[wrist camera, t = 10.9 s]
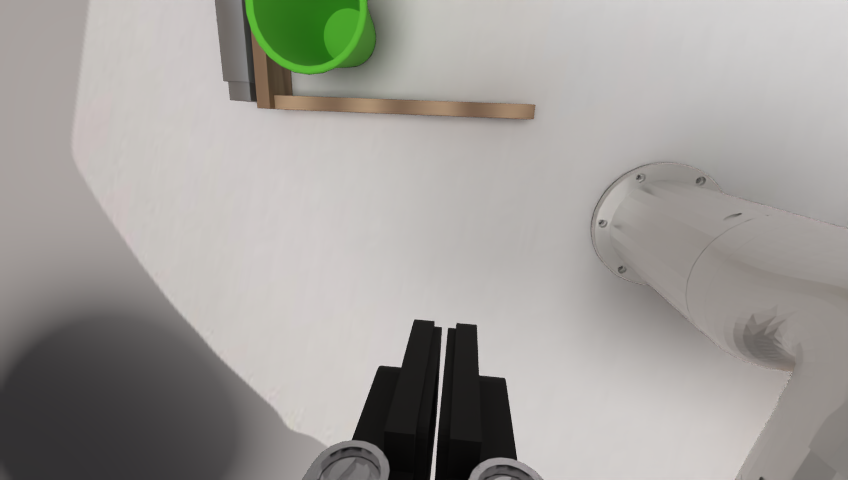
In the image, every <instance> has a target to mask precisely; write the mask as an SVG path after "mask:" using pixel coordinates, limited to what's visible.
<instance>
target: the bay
mask: <svg viewBox="0 0 848 480" xmlns="http://www.w3.org/2000/svg"><path fill="white" fill-rule="evenodd" d="M215 6H216V15H217V25H218V34H219V43H220V53H221V62H222V71H223V81H227V82H228V84H229V94H230V100H235V101H247V102H257V108H267V109H284V110H310V111H335V112H360V113H386V114H411V115H436V116H461V117H487V118H512V119H534V112H535V105H531V104H503V103H475V102H448V101H420V100H392V99H365V98H337V97H309V96H292V82H291V71H290V70H288V69H286V68H284V67H281V66H280V65H279V64H277V63H276V62H275V61H274V60H272V59H271V58H270V57H269V56H268V55H267V54H266V53H265V52H264V50H263V49H262V48H261V47H260V46H259V44H258V42H257V40H256V38H255V36H254V34H253V33H252V31H251V27H250V24H249V21H248V17H247V14H246V4H245V0H215Z"/></svg>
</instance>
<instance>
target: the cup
mask: <svg viewBox="0 0 848 480" xmlns="http://www.w3.org/2000/svg"><path fill="white" fill-rule="evenodd" d="M245 4H246V14H247V17H248V21H249V24H250V27H251V31H252V33H253V34H254V36H255V38H256V40H257V42H258V44H259V46H260V47H261V48H262V49H263V50H264V52H265V53H266V54H267V55H268V56H269V57H270V58H271V59H272V60H274V61H275V62H276V63H277V64H279V65H280V66H281V67H284V68H286V69H288V70H290V71H293V72H295V73H302V74H308V75H310V74H319V73H324V72H327V71H329V70H332V69H334V68H345V67H355V66H358V65H361V64H362V63H364V62H365V61H366V60H367V59H368V58H369V57H370V56H371V54H372V52H373V50H374V47H375V42H376V33H375V29H374V25H373V22H372V19H371V16H370V13H369V10H368V6H367V0H245Z"/></svg>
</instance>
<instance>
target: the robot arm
mask: <svg viewBox="0 0 848 480" xmlns="http://www.w3.org/2000/svg"><path fill="white" fill-rule="evenodd" d="M637 175H639V176H640V177H639V178H638V179H636V177H637ZM697 178H698V181H697V182H696V180H697ZM600 220H602V223H601V224H599V221H600ZM591 235H592V240H593V245H594V248H595V250H596V252H597V255H598V256H599V258H600V259H601V260H602V262H603V263H604V264H605V265H606V266H607V267H608V268H609V269H610V270H611V271H612V272H613V273H615V274H616V275H617V276H619V277H621V278H623V279H625V280H628V281H630V282H634V283H638V284H646V285H650V286H651V287H652V288H654V289H655V290H656V291H657V292H658V293H659V294H660V295H661V296H662V297H663V298H665V299H666V300H667V301H668V302H669V303H670V304H671V305H672V306H673V307H674V308H676V309H677V310H678V311H679V312H680V313H681V314H682V315H683V316H684V317H686V318H687V319H688V320H689V321H690V322H691V323H692V324H693V325H694V326H695V327H697V328H698V329H699V330H700V331H701V332H702V333H703V334H705V335H706V336H707V337H708V338H709V339H710V340H711V341H713V342H714V343H715V344H716V345H718V346H719V347H720V348H722V349H723V350H724V351H726V352H727V353H729V354H731V355H733V356H735V357H736V358H738V359H741V360H743V361H746V362H749V363H751V364H754V365H757V366H761V367H765V368H770V369H776V370H782V371H790V372H793V373H792V375H791V377H790V379H789V381H788V383H787V385H786V387H785V389H784V390H783V392H782V394H781V396H780V397H779V400H778V405H777V406H776V408H775V410H774V411H773V413H772V415H771V417H770V418H769V420H768V422H767V424H766V425H765V427H764V429H763V430H762V432H761V434H760V436H759V437H758V439H757V441H756V442H755V444H754V446H753V448H752V449H751V451H750V453H749V455H748V456H747V458H746V460H745V461H744V464H743V466H742V467H741V469H740V471H739V473H738V475H737V476H736V478H735V480H848V228H844V227H840V226H836V225H833V224H829V223H826V222H822V221H819V220H815V219H811V218H808V217H804V216H801V215H797V214H794V213H790V212H787V211H783V210H780V209H776V208H773V207H769V206H766V205H762V204H759V203H755V202H752V201H748V200H745V199H741V198H738V197H734V196H731V195H727V194H724V193H723V192H722V190H721V189H720V187H719V186H718V184H717V183H716V182H715V181H714V180H713V179H712V178H711V177H710V176H709V175H707V174H705V173H704V172H702V171H700V170H699V169H696V168H693V167H690V166H688V165H683V164H678V163H664V162H663V163H656V164H649V165H646V166H643V167H640V168H637V169H635V170H633V171H631V172H629V173H627V174H625V175H624V176H622V177H621V178H620V179H618V180H617V181H616V182H614V183H613V184H612V186H611V187H610V188H609V189H608V190H607V191H606V192H605V193H604V195H603V196H602V198H601V199H600V201H599V203H598V205H597V207H596V210H595V212H594V215H593V220H592V231H591ZM620 266H621V268H619V267H620ZM441 335H442V327H434V321H426V320H414V322H413V326H412V330H411V333H410V337H409V341H408V344H407V348H406V352H405V356H404V359H403V363H402V367H401V368H399V367H389V366H379V368H378V370H377V372H376V375H375V378H374V381H373V383H372V386H371V389H370V392H369V394H368V397H367V400H366V403H365V405H364V408H363V411H362V413H361V416H360V419H359V422H358V424H357V427H356V430H355V433H354V435H353V438H352V440H351V441H344V442H340V443H338V444H335V445H333V446H330V447H329V448H328V449H326V450H325V451H323V452H322V453H321V454H320V455H319V456H318V457H317V458H316V459H315V461H314V462H313V463H312V465H311V466H310V468H309V469H308V471H307V473H306V474H305V476H304V477H303V479H302V480H430V475H431V465H432V456H433V446H434V437H435V428H436V417H437V402H438V385H439V368H440V351H441ZM435 480H543V479H542V478H541V476H540V475H539V474H538V473H537V472H536V471H535V470H533V469H532V468H530V467H529V466H527V465H526V464H524V463H521V462H519V461H517V455H516V448H515V441H514V434H513V427H512V421H511V414H510V407H509V400H508V393H507V386H506V381H505V378H499V377H489V376H479V367H478V343H477V325H471V324H460V323H457V324H456V329H455V328H448V335H447V345H446V356H445V366H444V376H443V387H442V397H441V408H440V418H439V429H438V441H437V456H436V472H435Z"/></svg>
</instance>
